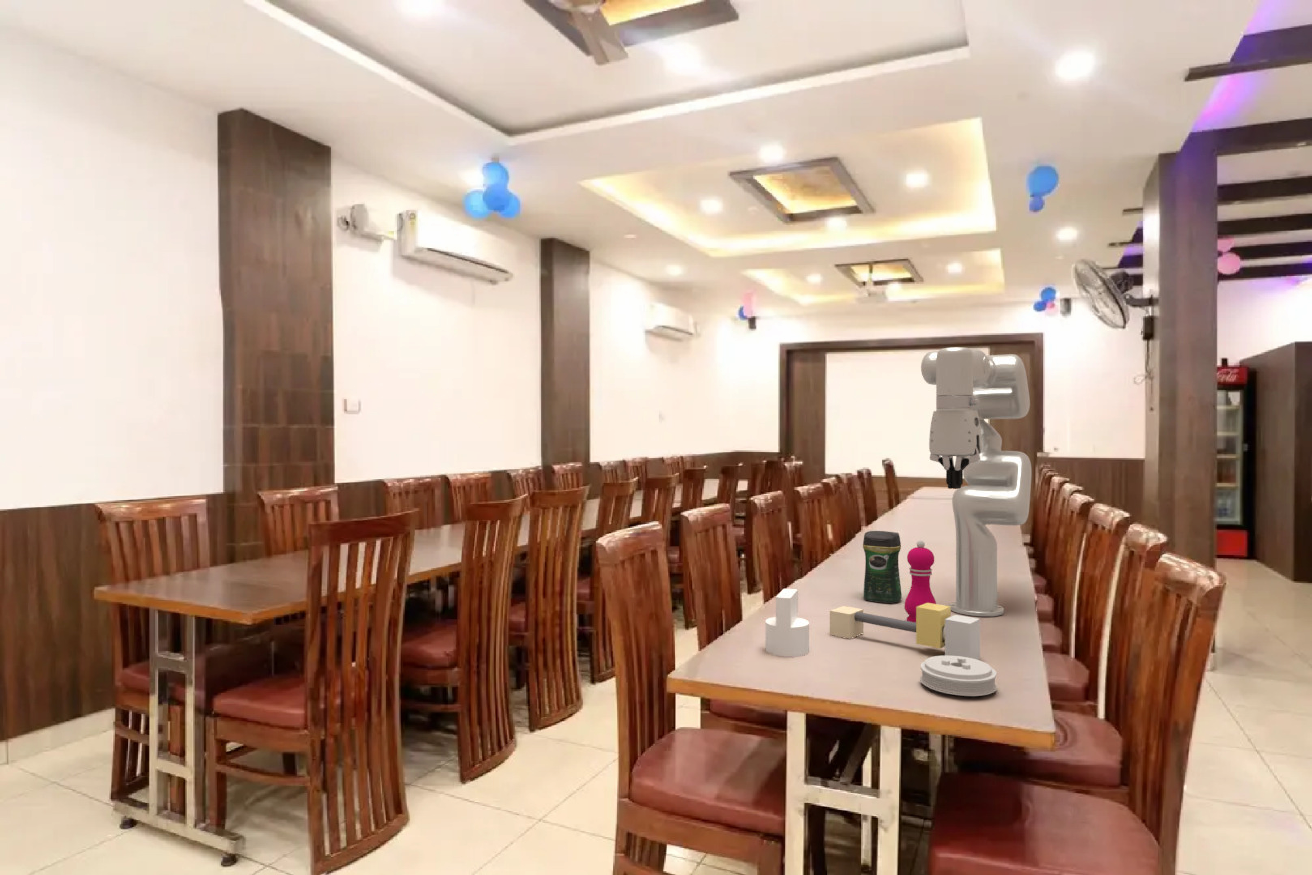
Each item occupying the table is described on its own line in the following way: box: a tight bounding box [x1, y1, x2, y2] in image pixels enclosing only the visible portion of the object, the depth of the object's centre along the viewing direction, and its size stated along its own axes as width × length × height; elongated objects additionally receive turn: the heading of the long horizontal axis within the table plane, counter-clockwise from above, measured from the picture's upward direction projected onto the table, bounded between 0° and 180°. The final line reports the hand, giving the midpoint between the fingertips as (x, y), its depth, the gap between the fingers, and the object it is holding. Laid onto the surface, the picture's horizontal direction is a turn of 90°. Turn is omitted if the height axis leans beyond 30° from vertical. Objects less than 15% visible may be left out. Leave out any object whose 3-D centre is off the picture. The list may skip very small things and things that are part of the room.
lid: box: [919, 655, 998, 697], centre depth 135 cm, size 13×13×5 cm
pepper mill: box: [903, 540, 937, 623], centre depth 176 cm, size 7×7×20 cm
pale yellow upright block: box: [915, 603, 952, 650], centre depth 156 cm, size 5×5×8 cm
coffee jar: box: [862, 530, 902, 604], centre depth 202 cm, size 10×8×19 cm
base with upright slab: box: [765, 588, 810, 658], centre depth 158 cm, size 9×9×12 cm
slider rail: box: [829, 605, 981, 660], centre depth 160 cm, size 6×31×8 cm, turn 46°
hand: (954, 488), depth 165 cm, fingers closed
